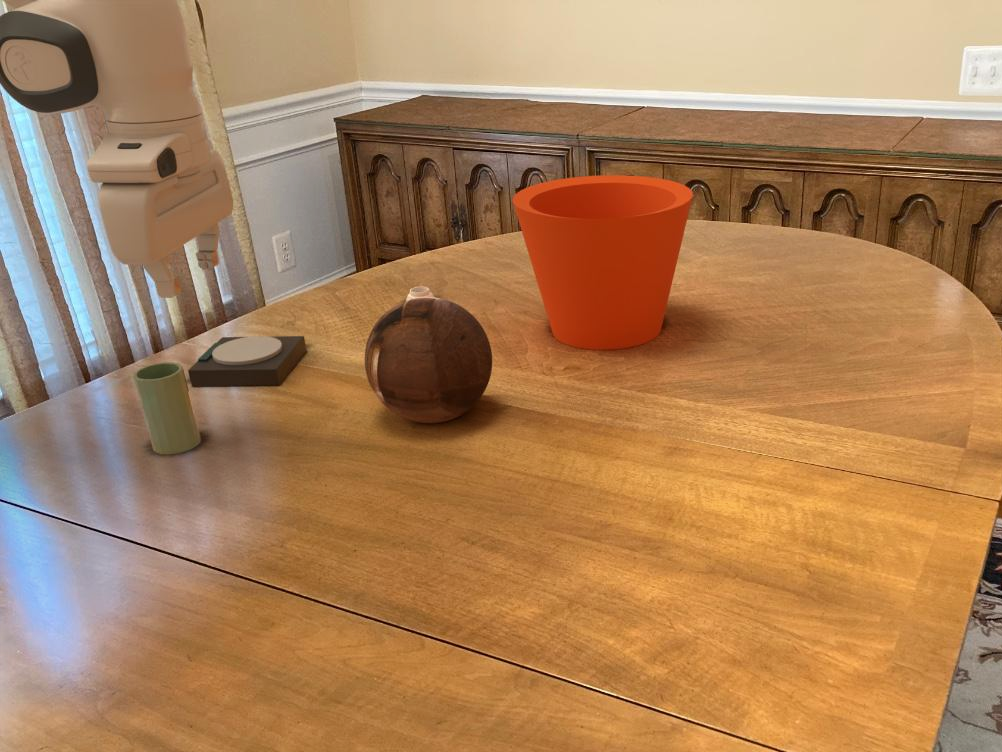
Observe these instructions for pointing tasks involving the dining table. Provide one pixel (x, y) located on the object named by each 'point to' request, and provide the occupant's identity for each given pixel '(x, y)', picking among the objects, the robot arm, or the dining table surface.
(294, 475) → the dining table surface
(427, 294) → the lidless jar
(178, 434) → the cup
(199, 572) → the dining table surface
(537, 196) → the flowerpot
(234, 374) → the scale
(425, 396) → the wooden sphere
